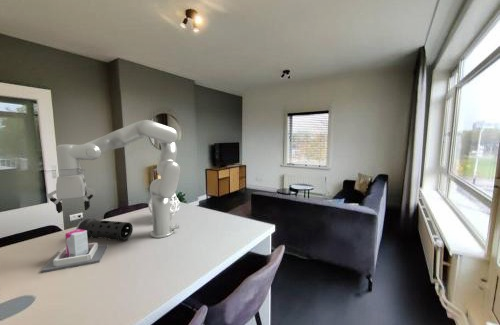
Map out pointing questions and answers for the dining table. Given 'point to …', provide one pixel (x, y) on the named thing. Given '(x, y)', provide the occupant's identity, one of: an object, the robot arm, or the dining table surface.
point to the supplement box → (76, 243)
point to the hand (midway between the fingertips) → (73, 210)
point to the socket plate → (75, 258)
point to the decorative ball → (176, 201)
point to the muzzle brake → (106, 229)
